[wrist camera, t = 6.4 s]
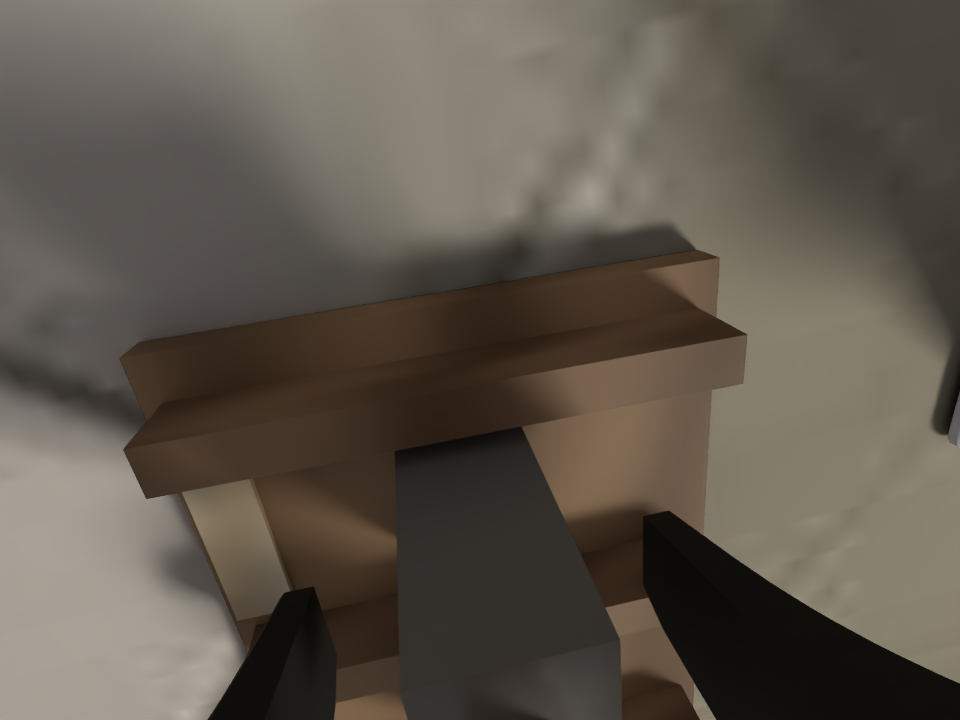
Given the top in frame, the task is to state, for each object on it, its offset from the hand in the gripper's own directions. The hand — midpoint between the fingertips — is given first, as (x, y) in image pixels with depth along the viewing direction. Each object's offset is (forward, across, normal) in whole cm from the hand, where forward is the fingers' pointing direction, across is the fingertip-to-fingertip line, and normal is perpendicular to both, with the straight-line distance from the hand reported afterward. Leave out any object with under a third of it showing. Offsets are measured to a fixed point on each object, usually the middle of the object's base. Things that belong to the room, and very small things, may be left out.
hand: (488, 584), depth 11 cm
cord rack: (+4, 0, +4) cm, 6 cm away
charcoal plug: (+3, 0, 0) cm, 3 cm away
